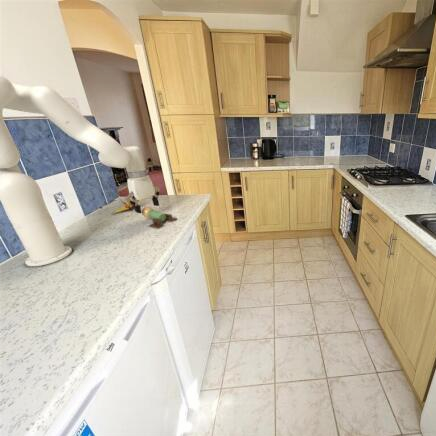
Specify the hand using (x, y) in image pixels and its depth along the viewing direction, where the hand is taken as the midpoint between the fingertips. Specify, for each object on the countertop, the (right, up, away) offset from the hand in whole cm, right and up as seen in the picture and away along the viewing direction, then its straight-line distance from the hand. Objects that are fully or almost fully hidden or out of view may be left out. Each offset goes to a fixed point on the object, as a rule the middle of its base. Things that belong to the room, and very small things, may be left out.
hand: (148, 209), depth 118 cm
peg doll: (+8, -4, -3) cm, 10 cm away
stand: (+8, -7, -2) cm, 11 cm away
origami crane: (-20, 0, +17) cm, 26 cm away
